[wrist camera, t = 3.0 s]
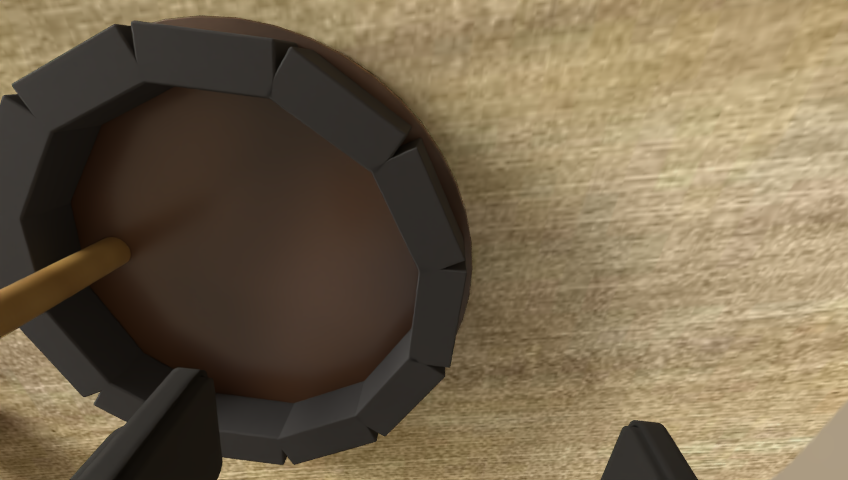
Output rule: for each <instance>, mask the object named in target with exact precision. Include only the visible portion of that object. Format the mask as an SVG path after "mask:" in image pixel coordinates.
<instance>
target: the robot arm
mask: <svg viewBox="0 0 848 480" xmlns="http://www.w3.org/2000/svg"><path fill="white" fill-rule="evenodd" d="M221 467H222V451H221V442H220V433H219V424H218V415H217V406H216V396H215V387H214V381H213V379H212V378H209V377H208V376H207V372H206V371H205V370H199V369H191V368H182V367H177V368H175V369H174V370H173V371H172V372H171V373H170V374H169V375H168V376H167V377H166V378H165V379H164V381H163V382H162V383H161V384H160V385H159V386H158V387H157V389H156V390H155V391H154V392H153V393H152V394H151V395H150V397H149V398H148V399H147V400H146V401H145V402H144V403H143V405H142V406H141V407H140V408H139V409H138V410H137V411H136V413H135V414H134V415H133V416H132V417H131V418H130V419H129V421H128V422H127V423H126V424H125V425H124V426H122V427H120V428H118V429H116V430H115V431H114V432H113V433H111V434H110V435H109V436H108V437H107V438H106V439H105V441H104V442H103V443H102V444H101V445H100V446H99V447H98V448H97V450H96V451H95V452H94V453H93V454H92V455H91V456H90V457H89V458H88V460H87V461H86V462H85V463H84V464H83V465H82V466H81V467H80V469H79V470H78V471H77V472H76V473H75V474H74V475H73V476H72V477H71V479H70V480H217V479H218V477H219V474H220V471H221ZM601 480H698V479H697V477H696V476H695V474H694V473H693V471H692V469H691V468H690V466H689V465H688V463H687V461H686V460H685V458H684V457H683V455H682V453H681V452H680V450H679V449H678V447H677V445H676V444H675V442H674V441H673V439H672V437H671V436H670V434H669V433H668V431H667V429H666V428H665V427H664V426H663V425H662V424H660V423H655V422H647V421H638V420H633V421H631V422H630V424H629V425H628V426H624V427H623V428H622V430H621V432H620V435H619V437H618V440H617V442H616V444H615V447H614V449H613V451H612V454H611V456H610V459H609V461H608V463H607V466H606V468H605V471H604V473H603V475H602V478H601Z"/></svg>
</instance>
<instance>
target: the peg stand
mask: <svg viewBox="0 0 848 480" xmlns="http://www.w3.org/2000/svg"><path fill="white" fill-rule="evenodd" d="M152 23H157V24H165V25H173V26H180V27H188V28H196V29H204V30H212V31H219V32H227V33H235V34H243V35H251V36H259V37H266V38H274V39H279V40H284V41H290V42H295V43H297V45H298V48H303V49H310V50H314V51H315V52H316V53H318V54H319V55H320V56H321V57H323V58H324V59H325V60H327V61H328V62H329V63H331V64H332V65H333V66H334V67H336V68H337V69H338V70H340V71H341V72H342V73H344V74H345V75H346V76H347V77H349V78H350V79H351V80H353V81H354V82H355V83H356V84H358V85H359V86H360V87H362V88H363V89H364V90H366V91H367V92H368V93H369V94H371V95H372V96H373V97H375V98H376V99H377V100H379V101H380V102H381V103H382V104H384V105H385V106H386V107H388V108H389V109H390V110H392V111H393V112H394V113H395V114H397V115H398V116H399V117H401V118H402V119H403V120H404V121H406V122H407V123H408V124H410V125H411V127H412V128H411V130H410V132H409V134H408V135H407V137H406V139H405V140H404V141H403V143H402V144H401V146H402V145H404V144H406V143H409V142H411V141H413V140H415V139H418V138H421V139H422V141H423V143H424V146H425V148H426V150H427V153H428V155H429V157H430V160H431V162H432V165H433V167H434V169H435V172H436V174H437V176H438V179H439V181H440V184H441V186H442V188H443V191H444V193H445V195H446V198H447V200H448V202H449V205H450V207H451V210H452V212H453V214H454V217H455V219H456V221H457V224H458V226H459V229H460V231H461V233H462V236H463V241H464V249H465V258H466V268H467V276H466V282H465V288H464V293H463V299H462V304H461V310H460V316H459V321H458V327H457V332H458V330H459V328H460V325H461V323H462V321H463V318H464V314H465V310H466V307H467V303H468V299H469V295H470V286H471V277H472V248H471V237H470V232H469V226H468V221H467V215H466V210H465V207H464V204H463V201H462V198H461V195H460V192H459V189H458V186H457V183H456V181H455V179H454V177H453V174H452V172H451V170H450V168H449V166H448V164H447V162H446V160H445V158H444V156H443V154H442V152H441V151H440V149H439V148H438V146H437V145H436V143H435V142H434V140H433V139H432V137H431V136H430V134H429V133H428V131H427V130H426V128H425V127H424V125H423V124H422V123H421V122H420V121H419V120H418V118H417V117H416V116H415V115H414V114H413V113H412V111H411V110H410V109H409V108H408V107H407V106H406V105H405V103H404V102H403V101H402V100H401V99H400V98H399V97H398V96H397V95H396V94H394V93H393V92H392V91H391V90H390V89H389V88H388V87H387V86H385V85H384V84H383V83H382V82H381V81H380V80H379V79H378V78H376V77H375V76H374V75H373V74H371V73H370V72H368V71H367V70H366V69H364V68H363V67H361V66H360V65H358V64H357V63H355V62H354V61H352V60H351V59H349V58H348V57H347V56H345V55H343V54H342V53H340V52H338V51H336V50H334V49H332V48H330V47H328V46H326V45H324V44H322V43H320V42H318V41H316V40H314V39H312V38H310V37H307V36H304V35H301V34H298V33H295V32H293V31H290V30H287V29H284V28H281V27H278V26H275V25H271V24H266V23H261V22H256V21H251V20H246V19H241V18H236V17H218V16H190V17H180V18H171V19H164V20H160V21H156V22H152ZM71 206H72V211H73V215H74V220H75V224H76V228H77V233H78V237H79V241H80V246H81V250H80V251H78V252H76V253H74V254H72V255H70V256H68V257H66V258H64V259H61V260H59V261H57V262H55V263H53V264H51V265H49V266H47V267H45V268H43V269H41V270H39V271H37V272H35V273H33V274H31V275H29V276H27V277H25V278H23V279H21V280H19V281H17V282H15V283H13V284H11V285H9V286H7V287H4V288H2V289H0V339H1V338H3V337H4V336H6V335H8V334H9V333H11V332H13V331H14V330H16V329H17V328H19V327H21V326H22V325H24V324H26V323H27V322H29V321H31V320H32V319H34V318H36V317H37V316H39V315H41V314H42V313H44V312H46V311H47V310H49V309H51V308H52V307H54V306H56V305H57V304H59V303H61V302H62V301H64V300H66V299H67V298H69V297H71V296H72V295H74V294H76V293H77V292H79V291H81V290H82V289H84V288H86V287H87V286H89V285H90V288H91V289H92V290H93V291H94V292H95V294H96V295H97V296H98V297H99V299H100V300H101V301H102V302H103V303H104V305H105V306H106V307H107V308H108V310H109V311H110V312H111V313H112V314H113V316H114V317H115V318H116V319H117V321H118V322H119V323H120V324H121V326H122V327H123V328H124V329H125V330H126V332H127V333H128V334H129V335H130V337H131V338H132V339H133V340H134V341H135V343H136V344H137V345H138V346H139V348H140V349H141V350H142V351H143V352H144V353H145V354H147V355H149V356H151V357H152V358H154V359H156V360H158V361H160V362H161V363H163V364H165V365H167V366H169V367H170V368H172V369H175V368H177V367H182V368H191V369H199V370H205V371H206V372H207V376H208V377H209V378H212V379H213V381H214V387H215V392H216V393H220V394H227V395H235V396H243V397H251V398H258V399H266V400H274V401H282V402H289V403H296V402H299V401H302V400H306V399H309V398H312V397H315V396H318V395H321V394H325V393H328V392H331V391H334V390H337V389H340V388H344V387H347V386H350V385H353V384H356V383H360V382H363V381H365V380H366V379H367V377H368V376H369V375H370V374H371V373H372V372H373V371H374V370H375V369H376V367H377V366H378V365H379V364H380V363H381V362H382V361H383V360H384V358H385V357H386V356H387V355H388V354H389V353H390V352H391V351H392V350H393V348H394V347H395V346H396V345H397V344H398V343H399V342H400V341H401V339H402V338H403V337H404V336H405V335H406V334H407V333H408V332H409V331H410V329H411V328H412V322H413V314H414V306H415V298H416V290H417V282H418V275H419V270H418V268H417V266H416V264H415V262H414V260H413V258H412V256H411V254H410V252H409V250H408V247H407V245H406V243H405V241H404V239H403V237H402V235H401V233H400V231H399V229H398V227H397V225H396V222H395V220H394V218H393V216H392V214H391V212H390V210H389V208H388V206H387V204H386V202H385V200H384V197H383V195H382V193H381V191H380V189H379V187H378V185H377V183H376V181H375V179H374V177H373V175H372V173H371V172H370V171H368V170H367V169H366V168H364V167H363V166H362V165H360V164H359V163H357V162H356V161H355V160H353V159H352V158H351V157H349V156H348V155H346V154H345V153H344V152H342V151H341V150H340V149H338V148H337V147H335V146H334V145H333V144H331V143H330V142H329V141H327V140H326V139H324V138H323V137H322V136H320V135H319V134H317V133H316V132H315V131H313V130H312V129H311V128H309V127H308V126H306V125H305V124H304V123H302V122H301V121H300V120H298V119H297V118H295V117H294V116H293V115H291V114H290V113H289V112H287V111H286V110H284V109H283V108H282V107H280V106H279V105H278V104H276V103H275V102H273V101H272V100H271V99H267V98H259V97H251V96H243V95H235V94H228V93H220V92H212V91H204V90H196V89H189V88H181V87H173V88H171V89H169V90H167V91H165V92H163V93H162V94H160V95H158V96H156V97H154V98H152V99H150V100H148V101H146V102H144V103H143V104H141V105H139V106H137V107H135V108H133V109H131V110H129V111H127V112H125V113H124V114H122V115H120V116H118V117H116V118H114V119H112V120H110V121H108V122H106V123H104V124H103V125H101V128H100V130H99V133H98V135H97V138H96V140H95V143H94V145H93V148H92V150H91V153H90V155H89V157H88V160H87V162H86V165H85V167H84V170H83V172H82V175H81V177H80V180H79V182H78V185H77V187H76V190H75V192H74V195H73V197H72V200H71ZM456 335H457V333H456Z"/></svg>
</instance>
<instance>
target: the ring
mask: <svg viewBox="0 0 848 480" xmlns="http://www.w3.org/2000/svg"><path fill="white" fill-rule="evenodd" d="M12 87H13V88H14V90H15V91H16V92H17V94H13V95H4V96H3V97H2V100H1V103H0V289H2V288H4V287H7V286H9V285H11V284H13V283H15V282H17V281H19V280H21V279H23V278H25V277H27V276H29V275H31V274H33V273H35V272H37V271H39V270H41V269H43V268H45V267H47V266H49V265H51V264H53V263H55V262H57V261H59V260H61V259H64V258H66V257H68V256H70V255H72V254H74V253H76V252H78V251H80V250H81V246H80V241H79V237H78V233H77V228H76V224H75V220H74V215H73V211H72V206H71V200H72V197H73V195H74V192H75V190H76V187H77V185H78V182H79V180H80V177H81V175H82V172H83V170H84V167H85V165H86V162H87V160H88V157H89V155H90V153H91V150H92V148H93V145H94V143H95V140H96V138H97V135H98V133H99V130H100V128H101V125H103V124H104V123H106V122H108V121H110V120H112V119H114V118H116V117H118V116H120V115H122V114H124V113H125V112H127V111H129V110H131V109H133V108H135V107H137V106H139V105H141V104H143V103H144V102H146V101H148V100H150V99H152V98H154V97H156V96H158V95H160V94H162V93H163V92H165V91H167V90H169V89H171V88H173V87H181V88H189V89H196V90H204V91H212V92H220V93H228V94H235V95H243V96H251V97H259V98H267V99H271V100H272V101H273V102H275V103H276V104H278V105H279V106H280V107H282V108H283V109H284V110H286V111H287V112H289V113H290V114H291V115H293V116H294V117H295V118H297V119H298V120H300V121H301V122H302V123H304V124H305V125H306V126H308V127H309V128H311V129H312V130H313V131H315V132H316V133H317V134H319V135H320V136H322V137H323V138H324V139H326V140H327V141H329V142H330V143H331V144H333V145H334V146H335V147H337V148H338V149H340V150H341V151H342V152H344V153H345V154H346V155H348V156H349V157H351V158H352V159H353V160H355V161H356V162H357V163H359V164H360V165H362V166H363V167H364V168H366V169H367V170H368V171H370V172H371V173H372V175H373V177H374V179H375V181H376V183H377V185H378V187H379V189H380V191H381V193H382V195H383V197H384V200H385V202H386V204H387V206H388V208H389V210H390V212H391V214H392V216H393V218H394V220H395V222H396V225H397V227H398V229H399V231H400V233H401V235H402V237H403V239H404V241H405V243H406V245H407V247H408V250H409V252H410V254H411V256H412V258H413V260H414V262H415V264H416V266H417V268H418V270H419V275H418V282H417V290H416V298H415V306H414V314H413V322H412V328H411V329H410V331H409V332H408V333H407V334H406V335H405V336H404V337H403V338H402V339H401V341H400V342H399V343H398V344H397V345H396V346H395V347H394V348H393V350H392V351H391V352H390V353H389V354H388V355H387V356H386V357H385V358H384V360H383V361H382V362H381V363H380V364H379V365H378V366H377V367H376V369H375V370H374V371H373V372H372V373H371V374H370V375H369V376H368V377H367V379H366V380H365V381H363V382H360V383H356V384H353V385H350V386H347V387H344V388H340V389H337V390H334V391H331V392H328V393H325V394H321V395H318V396H315V397H312V398H309V399H306V400H302V401H299V402H296V403H289V402H282V401H274V400H266V399H258V398H251V397H243V396H235V395H227V394H220V393H216V392H215V396H216V406H217V415H218V424H219V433H220V442H221V451H222V457H224V458H232V459H240V460H247V461H255V462H263V463H271V464H278V465H283V464H284V463H285V460H286V458H287V457H288V458H289V459H290V461H291V462H292V463H293V464H294V465H295V464H298V463H302V462H306V461H309V460H313V459H316V458H320V457H323V456H327V455H331V454H334V453H338V452H341V451H345V450H348V449H352V448H355V447H359V446H363V445H366V444H370V443H373V442H376V441H377V437H378V433H379V434H381V435H383V436H386V435H387V434H388V433H389V432H390V431H391V430H392V429H393V428H394V427H395V426H396V425H397V424H398V423H399V422H400V421H401V420H402V419H403V418H404V417H405V416H406V415H407V414H408V413H409V412H410V411H411V410H412V409H413V408H414V407H415V406H416V405H417V404H418V403H419V402H420V401H421V400H422V399H423V398H424V397H425V396H426V395H427V394H428V393H429V392H430V391H431V390H432V389H433V388H434V387H435V386H436V385H437V384H438V383H439V382H440V381H441V380H442V379H443V378H444V377H445V367H448V368H450V366H451V361H452V355H453V349H454V344H455V338H456V333H457V327H458V321H459V316H460V310H461V304H462V299H463V293H464V288H465V282H466V276H467V268H466V258H465V249H464V241H463V236H462V233H461V231H460V229H459V226H458V224H457V221H456V219H455V217H454V214H453V212H452V210H451V207H450V205H449V202H448V200H447V198H446V195H445V193H444V191H443V188H442V186H441V184H440V181H439V179H438V176H437V174H436V172H435V169H434V167H433V165H432V162H431V160H430V157H429V155H428V153H427V150H426V148H425V146H424V143H423V141H422V139H421V138H418V139H415V140H413V141H411V142H409V143H406V144H404V145H402V146H401V144H402V143H403V141H404V140H405V139H406V137H407V135H408V134H409V132H410V130H411V128H412V127H411V125H410V124H408V123H407V122H406V121H404V120H403V119H402V118H401V117H399V116H398V115H397V114H395V113H394V112H393V111H392V110H390V109H389V108H388V107H386V106H385V105H384V104H382V103H381V102H380V101H379V100H377V99H376V98H375V97H373V96H372V95H371V94H369V93H368V92H367V91H366V90H364V89H363V88H362V87H360V86H359V85H358V84H356V83H355V82H354V81H353V80H351V79H350V78H349V77H347V76H346V75H345V74H344V73H342V72H341V71H340V70H338V69H337V68H336V67H334V66H333V65H332V64H331V63H329V62H328V61H327V60H325V59H324V58H323V57H321V56H320V55H319V54H318V53H316V52H315V51H314V50H310V49H303V48H298V45H297V43H295V42H290V41H284V40H279V39H274V38H266V37H259V36H251V35H243V34H235V33H227V32H219V31H212V30H204V29H196V28H188V27H180V26H173V25H165V24H157V23H149V22H141V21H132V22H131V26H126V25H119V24H114V25H112V26H110V27H108V28H107V29H105V30H103V31H102V32H100V33H98V34H96V35H95V36H93V37H91V38H90V39H88V40H86V41H84V42H83V43H81V44H79V45H78V46H76V47H74V48H72V49H71V50H69V51H67V52H66V53H64V54H62V55H61V56H59V57H57V58H55V59H54V60H52V61H50V62H49V63H47V64H45V65H43V66H42V67H40V68H38V69H37V70H35V71H33V72H31V73H30V74H28V75H26V76H25V77H23V78H21V79H19V80H18V81H16V82H14V83H13V84H12ZM19 328H20V329H21V330H22V331H23V333H24V334H25V335H26V336H27V337H28V338H29V339H30V340H31V341H32V342H33V343H34V344H35V346H36V347H37V348H38V349H39V350H40V351H41V352H42V353H43V354H44V355H45V356H46V357H47V358H48V360H49V361H50V362H51V363H52V364H53V365H54V366H55V367H56V368H57V369H58V370H59V371H60V373H61V374H62V375H63V376H64V377H65V378H66V379H67V380H68V381H69V382H70V383H71V384H72V386H73V387H74V388H75V389H76V390H77V391H78V392H79V393H80V394H81V395H82V396H83V397H87V396H89V395H92V394H95V393H98V392H100V393H99V395H98V397H97V399H96V401H95V402H94V405H95V406H97V407H99V408H101V409H103V410H104V411H106V412H108V413H110V414H112V415H114V416H116V417H118V418H120V419H122V420H124V421H126V422H128V421H129V419H130V418H131V417H132V416H133V415H134V414H135V413H136V411H137V410H138V409H139V408H140V407H141V406H142V405H143V403H144V402H145V401H146V400H147V399H148V398H149V397H150V395H151V394H152V393H153V392H154V391H155V390H156V389H157V387H158V386H159V385H160V384H161V383H162V382H163V381H164V379H165V378H166V377H167V376H168V375H169V374H170V373H171V372H172V371H173V370H174V369H172V368H170V367H169V366H167V365H165V364H163V363H161V362H160V361H158V360H156V359H154V358H152V357H151V356H149V355H147V354H145V353H144V352H143V351H142V350H141V349H140V348H139V346H138V345H137V344H136V343H135V341H134V340H133V339H132V338H131V337H130V335H129V334H128V333H127V332H126V330H125V329H124V328H123V327H122V326H121V324H120V323H119V322H118V321H117V319H116V318H115V317H114V316H113V314H112V313H111V312H110V311H109V310H108V308H107V307H106V306H105V305H104V303H103V302H102V301H101V300H100V299H99V297H98V296H97V295H96V294H95V292H94V291H93V290H92V289H91V288H90V285H89V286H87V287H86V288H84V289H82V290H81V291H79V292H77V293H76V294H74V295H72V296H71V297H69V298H67V299H66V300H64V301H62V302H61V303H59V304H57V305H56V306H54V307H52V308H51V309H49V310H47V311H46V312H44V313H42V314H41V315H39V316H37V317H36V318H34V319H32V320H31V321H29V322H27V323H26V324H24V325H22V326H21V327H19Z"/></svg>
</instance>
